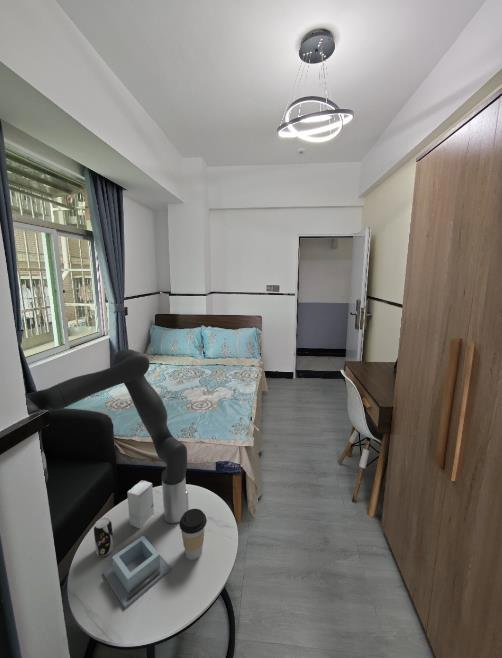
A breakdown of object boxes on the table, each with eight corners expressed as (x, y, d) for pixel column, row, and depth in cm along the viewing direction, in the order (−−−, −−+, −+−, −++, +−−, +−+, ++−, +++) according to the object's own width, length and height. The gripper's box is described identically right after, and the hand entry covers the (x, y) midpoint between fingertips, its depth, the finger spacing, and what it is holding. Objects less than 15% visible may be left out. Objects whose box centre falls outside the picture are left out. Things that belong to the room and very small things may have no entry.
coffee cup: (175, 554, 105) (173, 518, 102) (196, 536, 112) (194, 502, 109) (192, 571, 99) (190, 533, 96) (212, 551, 106) (212, 516, 103)
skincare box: (140, 529, 115) (137, 496, 112) (128, 524, 117) (126, 492, 114) (154, 514, 122) (153, 482, 120) (143, 509, 125) (141, 478, 122)
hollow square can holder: (146, 541, 109) (145, 526, 108) (171, 569, 99) (170, 553, 98) (102, 573, 98) (101, 557, 97) (125, 609, 87) (123, 591, 86)
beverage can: (94, 560, 102) (91, 531, 100) (97, 546, 108) (94, 518, 105) (112, 555, 104) (110, 526, 102) (114, 541, 109) (112, 514, 107)
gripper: (53, 474, 78) (60, 526, 81) (38, 452, 87) (45, 500, 90) (18, 489, 72) (27, 544, 75) (6, 464, 82) (15, 514, 84)
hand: (37, 520), depth 83 cm, fingers open, 8 cm apart
